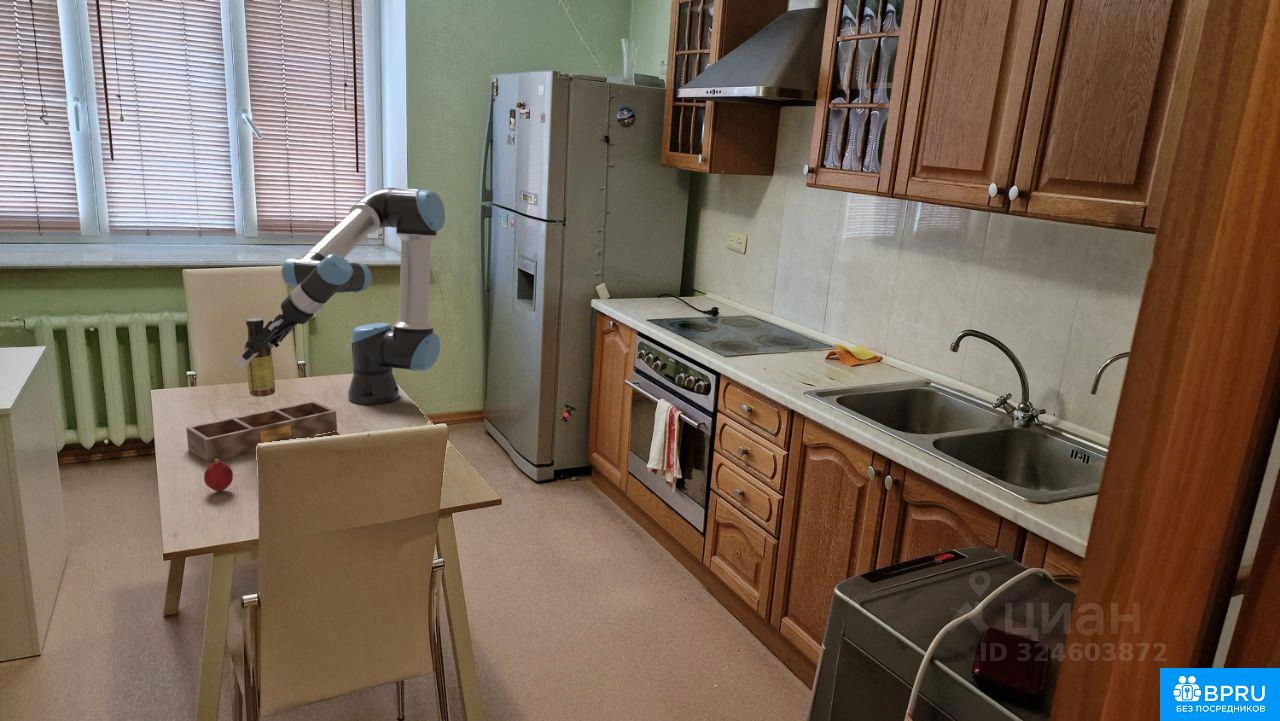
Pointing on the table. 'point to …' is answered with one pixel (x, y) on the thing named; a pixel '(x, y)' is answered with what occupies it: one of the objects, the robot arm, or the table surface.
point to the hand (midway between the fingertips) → (246, 362)
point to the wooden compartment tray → (259, 430)
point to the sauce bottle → (260, 364)
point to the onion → (218, 476)
